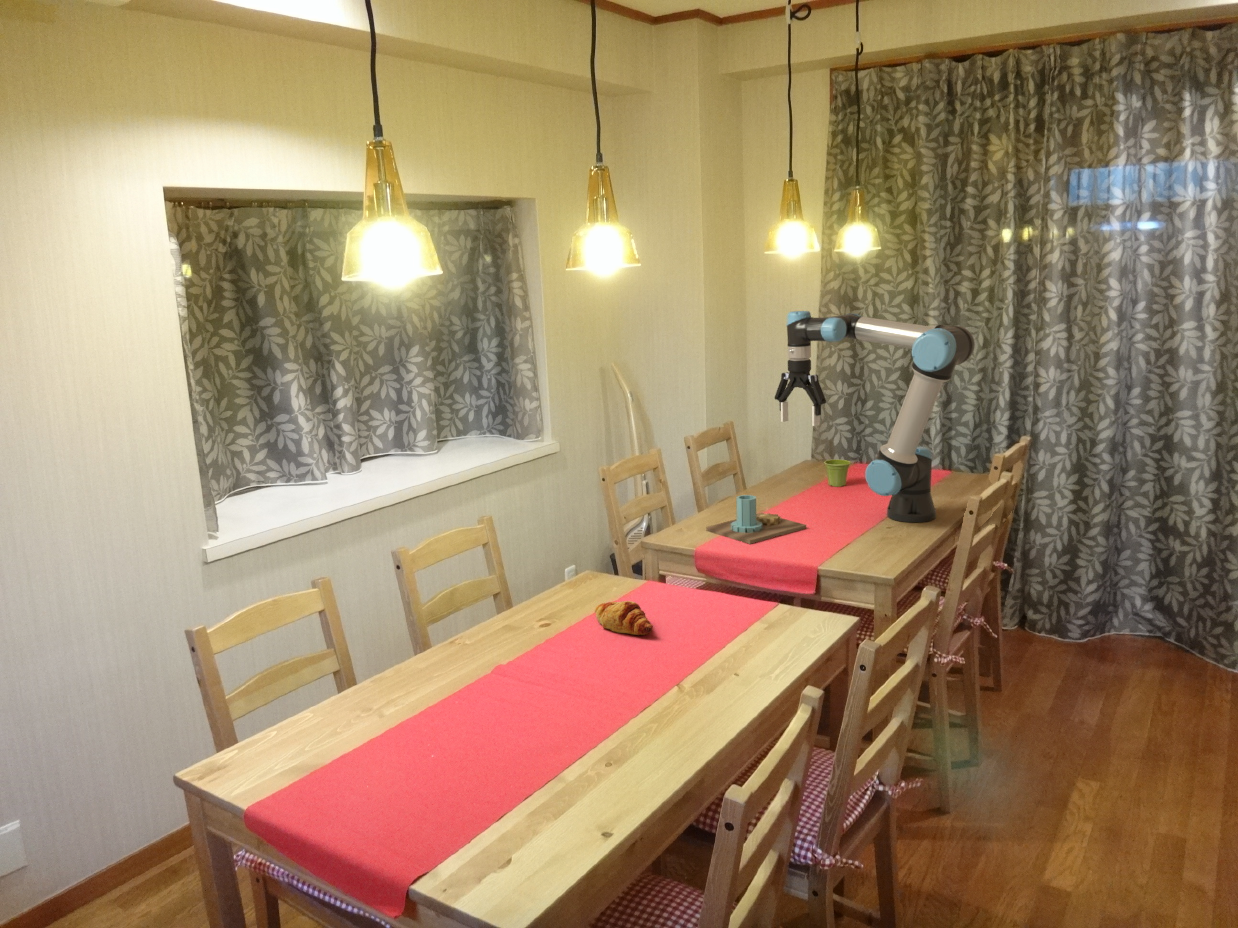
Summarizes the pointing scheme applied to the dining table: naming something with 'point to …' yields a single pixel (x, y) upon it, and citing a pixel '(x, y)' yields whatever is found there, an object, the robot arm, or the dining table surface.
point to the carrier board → (770, 529)
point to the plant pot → (837, 472)
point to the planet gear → (746, 515)
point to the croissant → (623, 617)
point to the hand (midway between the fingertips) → (800, 423)
